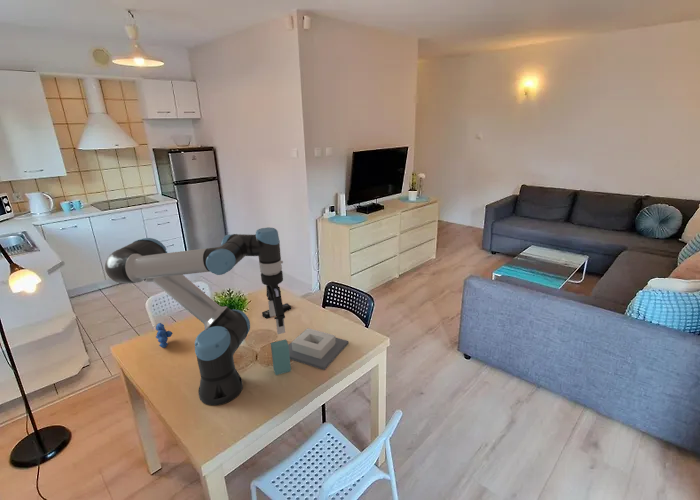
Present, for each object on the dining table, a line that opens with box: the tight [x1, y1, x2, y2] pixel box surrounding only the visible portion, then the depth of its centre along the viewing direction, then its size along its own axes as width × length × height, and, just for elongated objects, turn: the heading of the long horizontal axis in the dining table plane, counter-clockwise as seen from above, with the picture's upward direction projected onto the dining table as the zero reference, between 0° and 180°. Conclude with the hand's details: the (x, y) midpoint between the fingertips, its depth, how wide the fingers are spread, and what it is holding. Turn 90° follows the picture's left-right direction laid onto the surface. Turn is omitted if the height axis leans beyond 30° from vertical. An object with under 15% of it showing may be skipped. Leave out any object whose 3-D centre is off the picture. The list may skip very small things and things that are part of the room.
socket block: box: [288, 327, 349, 371], centre depth 156 cm, size 20×22×5 cm
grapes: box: [155, 322, 173, 349], centre depth 160 cm, size 12×7×12 cm, turn 28°
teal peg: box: [270, 338, 292, 376], centre depth 142 cm, size 4×6×12 cm, turn 112°
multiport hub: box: [261, 302, 292, 320], centre depth 188 cm, size 4×14×2 cm, turn 129°
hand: (277, 324), depth 137 cm, fingers open, 13 cm apart
